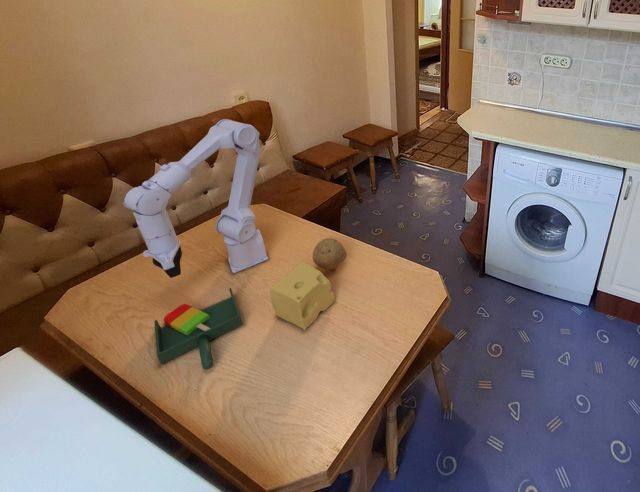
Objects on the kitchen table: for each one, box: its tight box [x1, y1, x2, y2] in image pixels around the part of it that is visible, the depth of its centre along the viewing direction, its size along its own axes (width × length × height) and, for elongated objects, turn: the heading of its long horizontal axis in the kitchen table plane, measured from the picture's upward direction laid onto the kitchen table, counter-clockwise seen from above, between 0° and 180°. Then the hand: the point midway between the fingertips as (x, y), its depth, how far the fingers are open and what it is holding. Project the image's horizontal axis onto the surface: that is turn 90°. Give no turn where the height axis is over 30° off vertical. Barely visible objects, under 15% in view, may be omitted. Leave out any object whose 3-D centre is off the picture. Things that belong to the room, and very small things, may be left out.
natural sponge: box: [312, 237, 347, 271], centre depth 106 cm, size 9×9×10 cm
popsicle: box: [163, 303, 210, 335], centre depth 88 cm, size 6×15×2 cm, turn 68°
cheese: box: [270, 261, 336, 331], centre depth 92 cm, size 10×11×10 cm
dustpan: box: [154, 287, 244, 371], centre depth 84 cm, size 20×16×3 cm
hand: (175, 274), depth 91 cm, fingers closed
